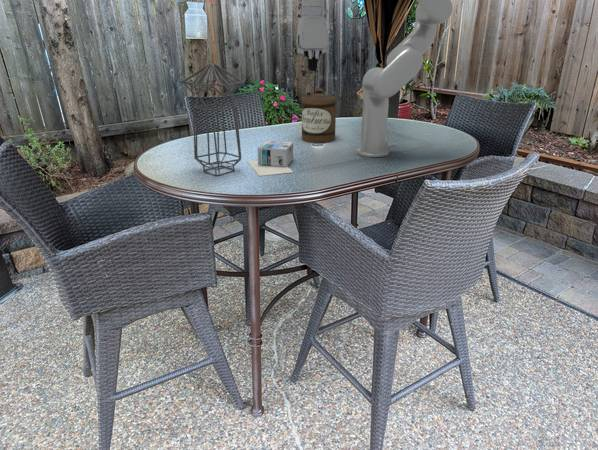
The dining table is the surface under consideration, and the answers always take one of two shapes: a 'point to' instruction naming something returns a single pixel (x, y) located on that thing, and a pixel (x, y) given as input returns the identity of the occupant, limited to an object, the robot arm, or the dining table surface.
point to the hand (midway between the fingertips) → (312, 70)
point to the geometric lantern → (218, 71)
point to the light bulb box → (275, 153)
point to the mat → (268, 169)
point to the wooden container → (318, 117)
